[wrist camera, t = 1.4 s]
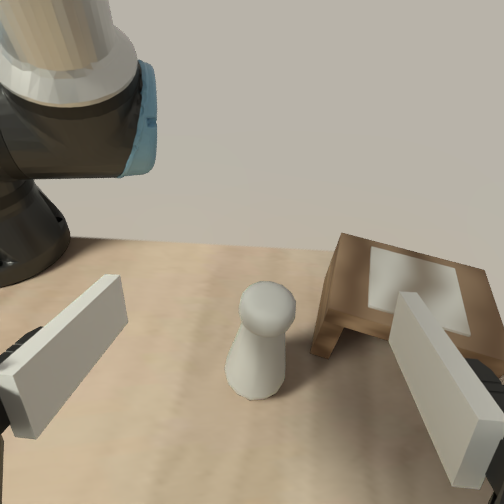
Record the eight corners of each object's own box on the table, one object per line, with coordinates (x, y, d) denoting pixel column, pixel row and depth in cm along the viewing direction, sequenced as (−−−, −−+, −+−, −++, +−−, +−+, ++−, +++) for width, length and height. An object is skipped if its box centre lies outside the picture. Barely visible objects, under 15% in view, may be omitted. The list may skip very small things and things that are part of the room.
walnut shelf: (310, 353, 35) (329, 305, 29) (324, 278, 44) (342, 230, 38) (465, 404, 32) (518, 362, 27) (448, 313, 41) (486, 268, 36)
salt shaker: (262, 345, 35) (280, 260, 26) (292, 391, 32) (325, 310, 23) (213, 368, 33) (216, 283, 24) (241, 421, 29) (256, 343, 20)
